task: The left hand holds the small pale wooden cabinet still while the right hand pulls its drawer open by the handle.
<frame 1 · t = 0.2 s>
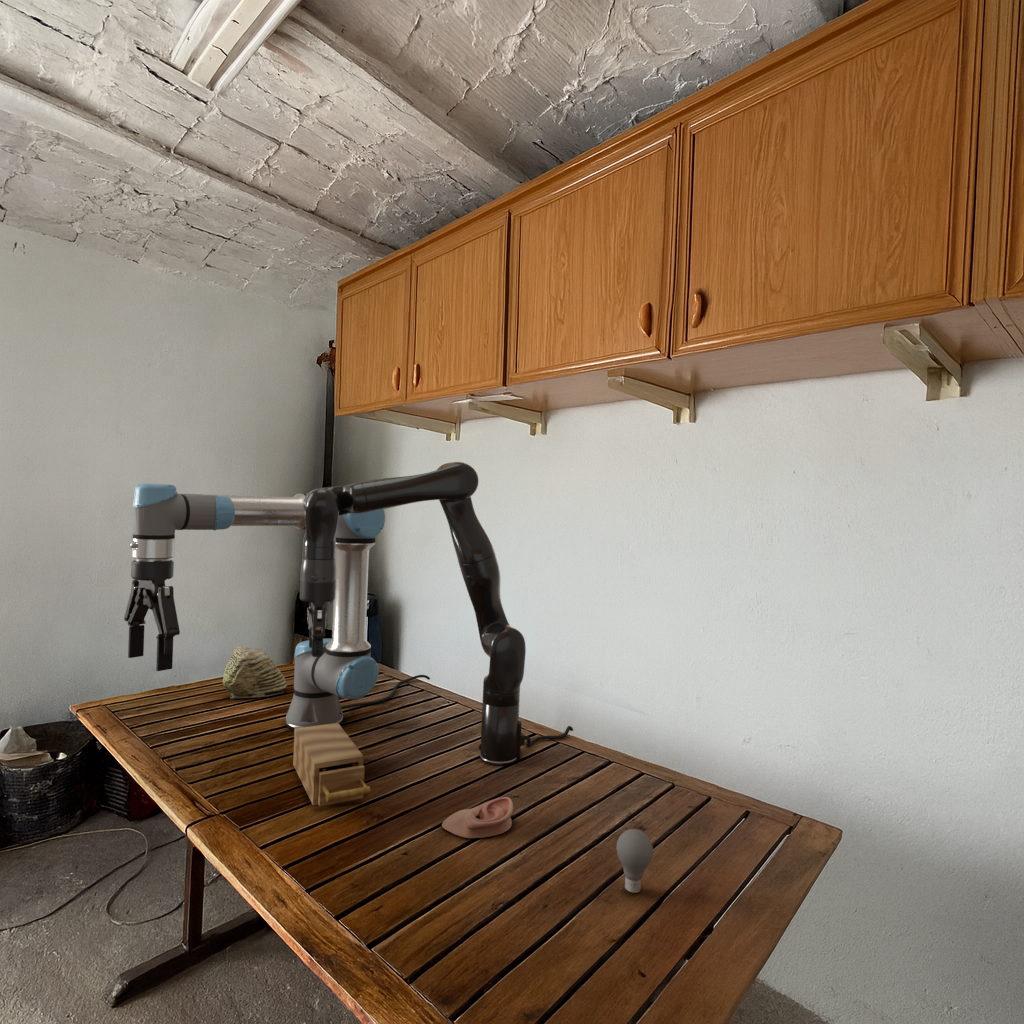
left hand: (149, 663, 129), 28 cm above the table, tool pointing down, fingers open, 13 cm apart
right hand: (315, 651, 140), 29 cm above the table, tool pointing down, fingers open, 8 cm apart
anatomical model: (477, 825, 125), on the table
fossil: (254, 694, 198), on the table
cabinet: (325, 779, 142), on the table
drawer: (333, 772, 136), point 4 cm above the table, slide at 1.9 cm
light bulb: (632, 891, 106), on the table
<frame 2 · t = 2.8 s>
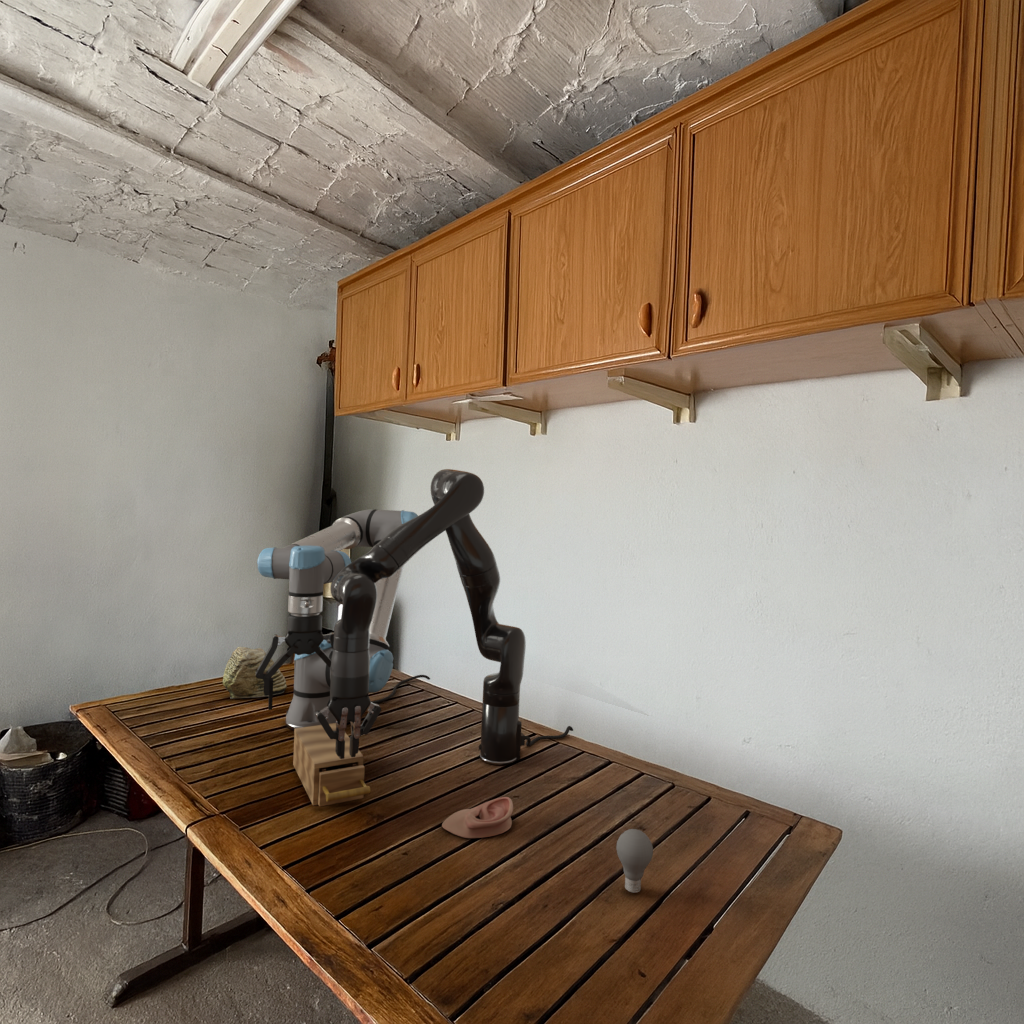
left hand: (301, 705, 145), 15 cm above the table, tool pointing down, fingers open, 13 cm apart
right hand: (346, 756, 127), 12 cm above the table, tool pointing down, fingers closed
nothing on the table moved.
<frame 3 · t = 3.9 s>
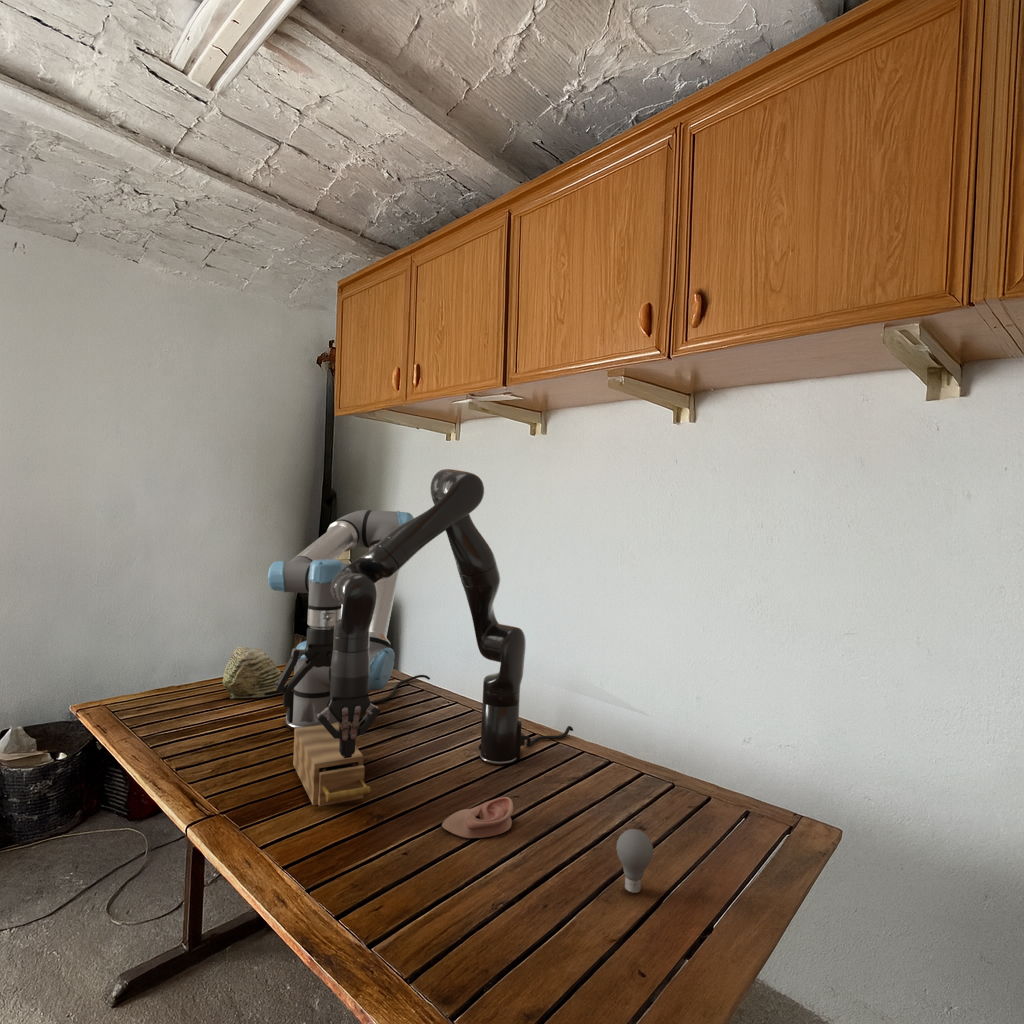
left hand: (320, 717, 148), 12 cm above the table, tool pointing down, fingers open, 13 cm apart
right hand: (346, 756, 127), 11 cm above the table, tool pointing down, fingers closed
nothing on the table moved.
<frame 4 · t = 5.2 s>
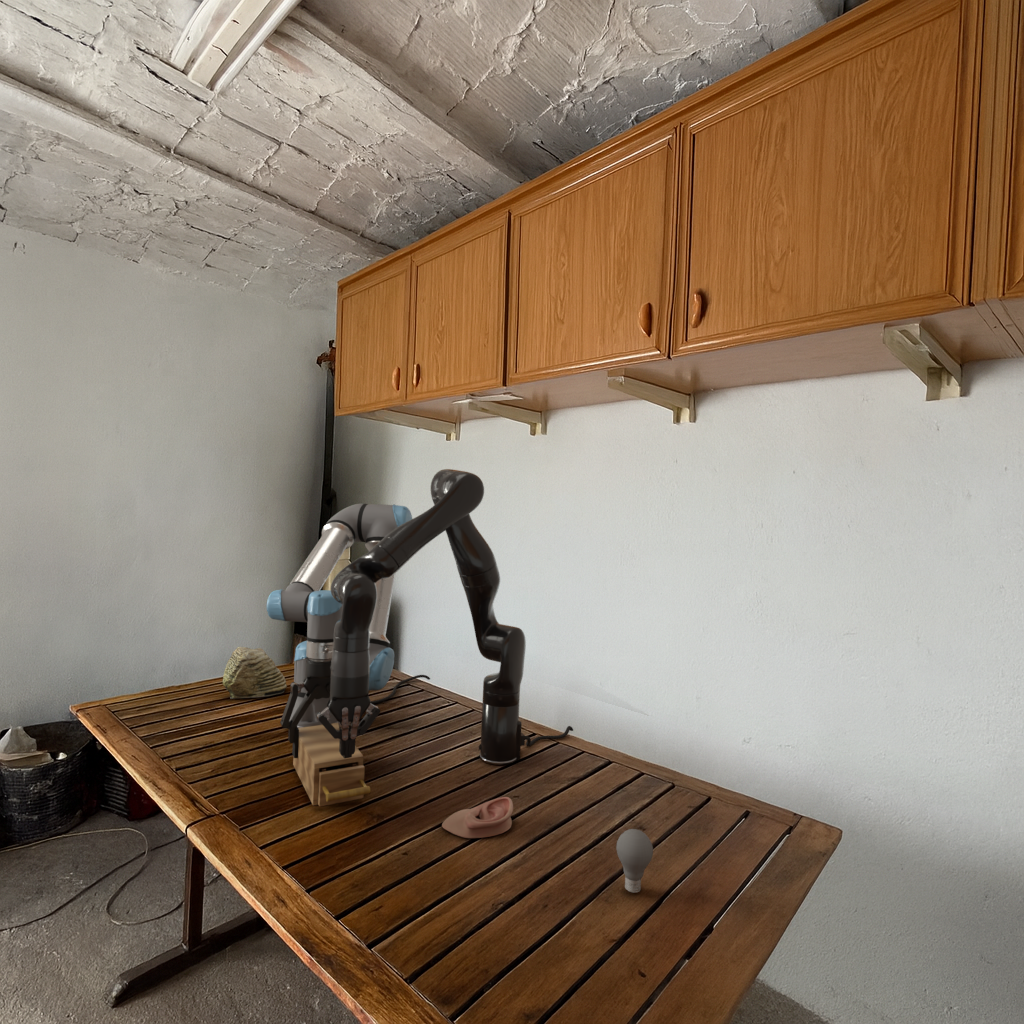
left hand: (319, 752, 148), 4 cm above the table, tool pointing down, fingers closed on cabinet, 10 cm apart
right hand: (346, 756, 127), 11 cm above the table, tool pointing down, fingers closed
cabinet: (325, 779, 142), on the table, touching left hand
everything else where it was.
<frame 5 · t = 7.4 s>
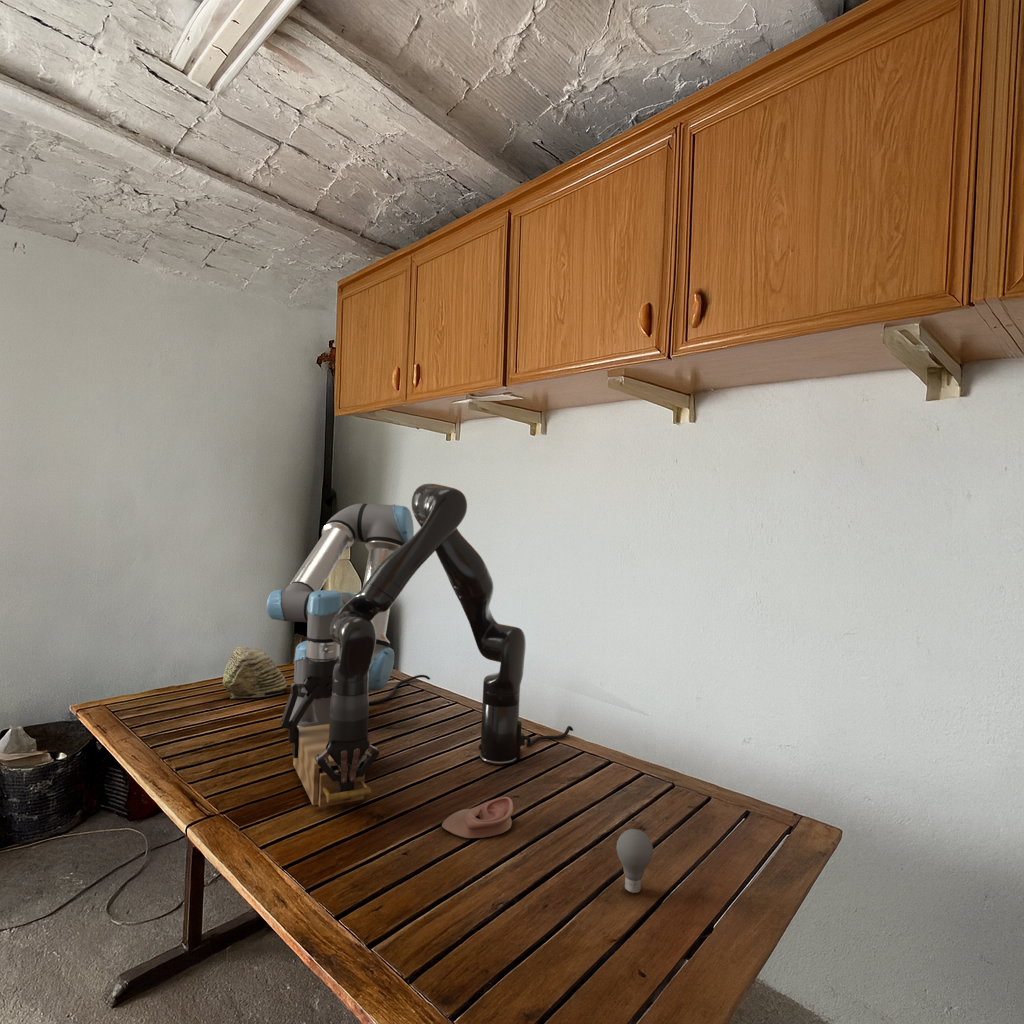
left hand: (319, 752, 148), 4 cm above the table, tool pointing down, fingers closed on cabinet, 10 cm apart
right hand: (345, 798, 127), 3 cm above the table, tool pointing down, fingers closed
cabinet: (325, 779, 142), on the table, touching left hand
drawer: (334, 772, 136), point 4 cm above the table, slide at 2.4 cm, touching right hand
everything else where it was.
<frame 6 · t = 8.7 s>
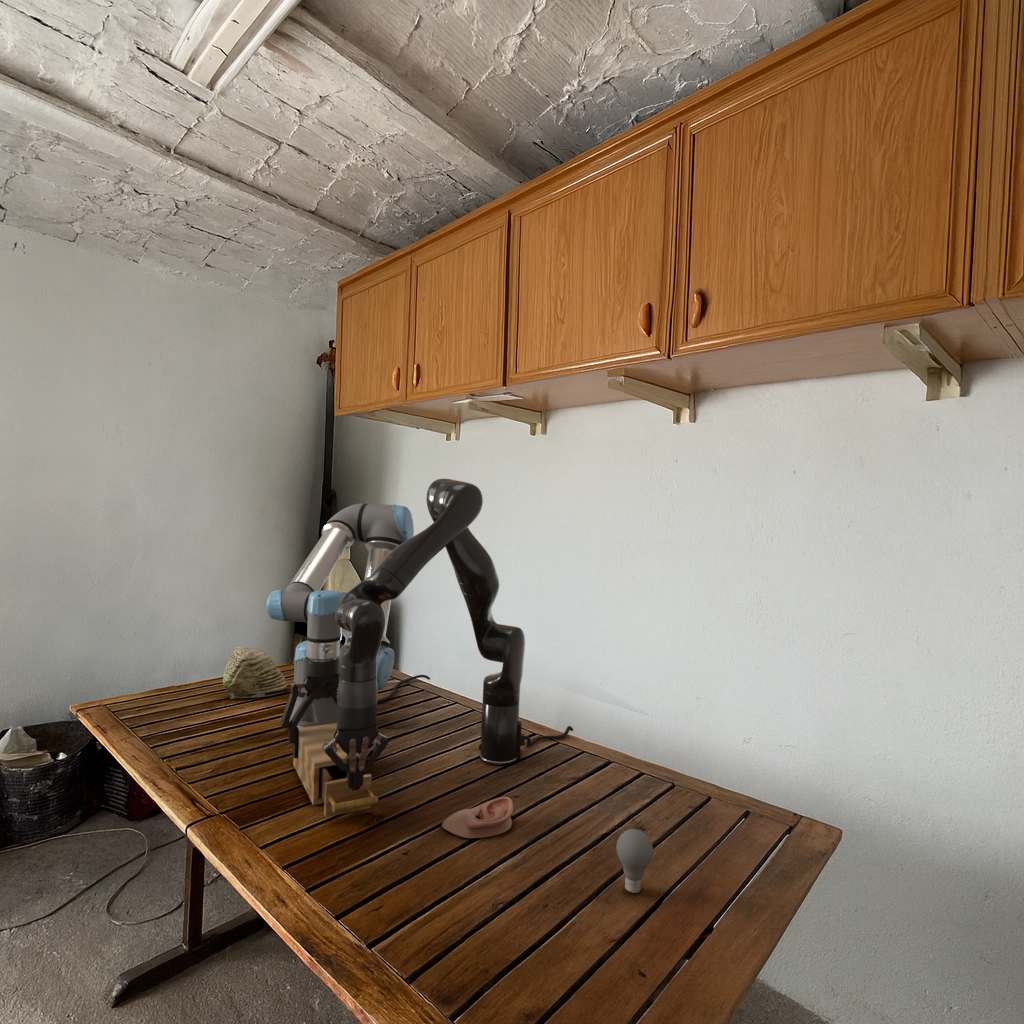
left hand: (319, 752, 148), 4 cm above the table, tool pointing down, fingers closed on cabinet, 10 cm apart
right hand: (354, 788, 123), 7 cm above the table, tool pointing down, fingers closed
cabinet: (325, 779, 142), on the table, touching left hand
drawer: (339, 781, 132), point 4 cm above the table, slide at 6.9 cm
everything else where it was.
when the left hand's fingers open (4 cm above the table, at t = 9.8 s): cabinet stays where it is, on the table.
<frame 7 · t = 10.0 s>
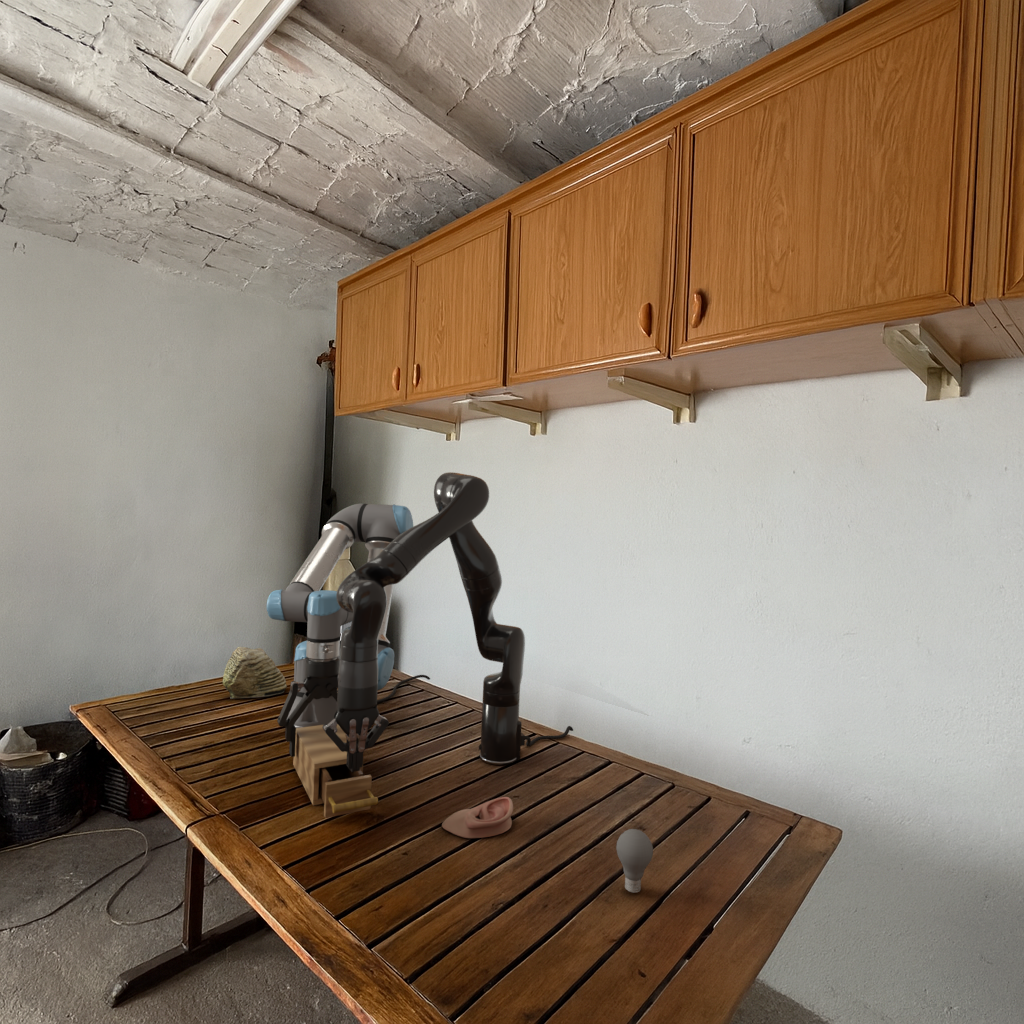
left hand: (319, 750, 148), 4 cm above the table, tool pointing down, fingers open, 12 cm apart
right hand: (354, 769, 123), 11 cm above the table, tool pointing down, fingers closed
cabinet: (325, 779, 142), on the table
everything else where it was.
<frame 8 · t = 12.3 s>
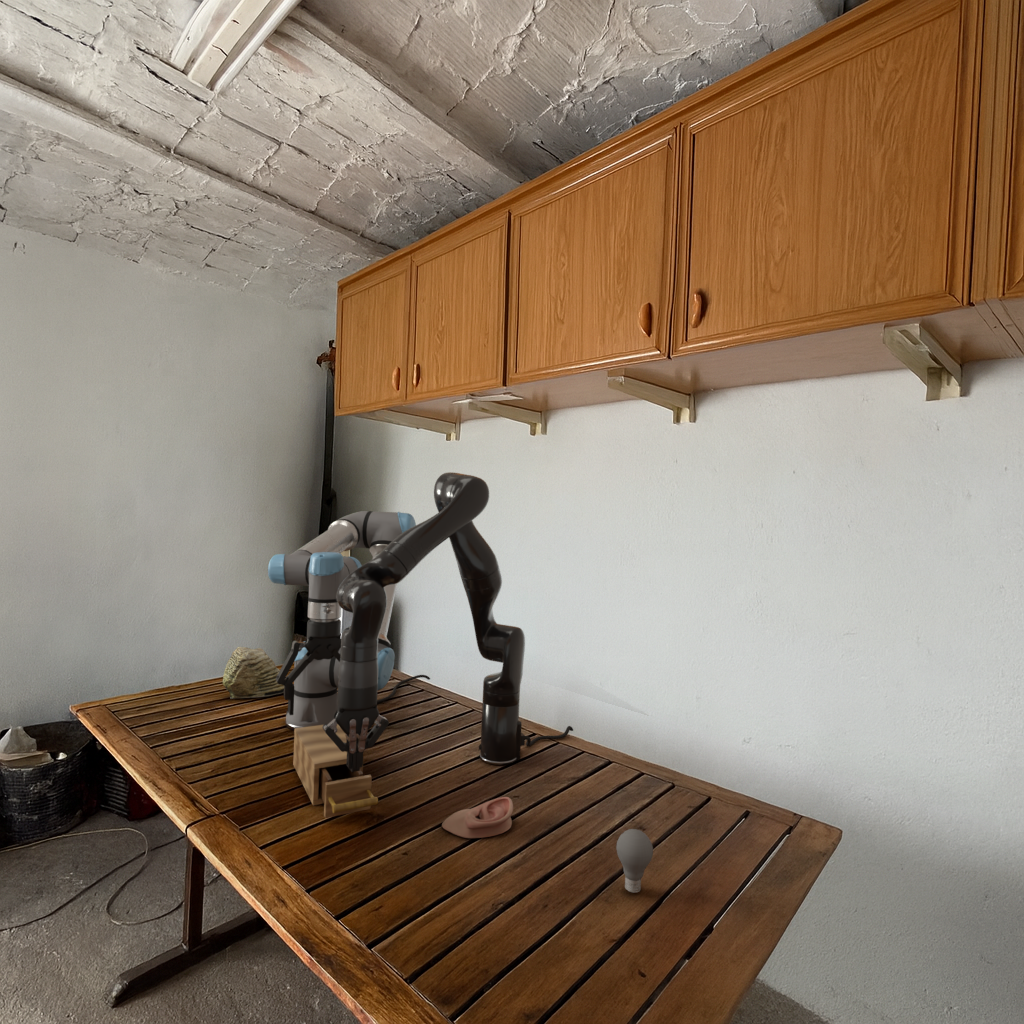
left hand: (320, 709, 148), 14 cm above the table, tool pointing down, fingers open, 13 cm apart
right hand: (354, 769, 123), 11 cm above the table, tool pointing down, fingers closed
nothing on the table moved.
at the end: drawer slide at 6.9 cm; cabinet tilted 0°; cabinet never tilted more than 1° during the clip; cabinet moved 0.0 cm from its start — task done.
